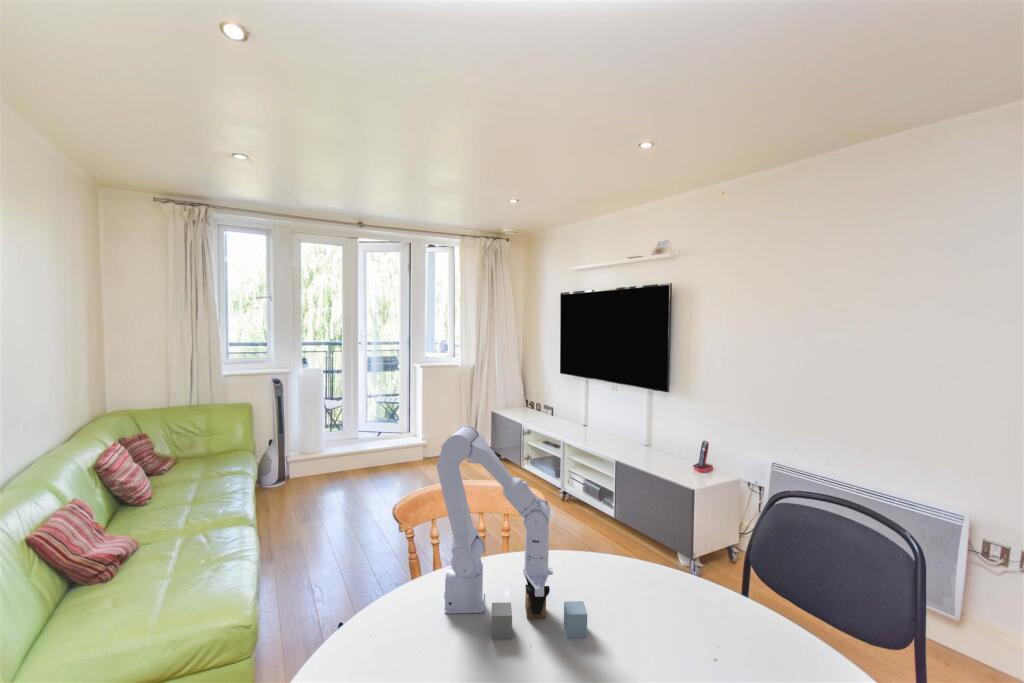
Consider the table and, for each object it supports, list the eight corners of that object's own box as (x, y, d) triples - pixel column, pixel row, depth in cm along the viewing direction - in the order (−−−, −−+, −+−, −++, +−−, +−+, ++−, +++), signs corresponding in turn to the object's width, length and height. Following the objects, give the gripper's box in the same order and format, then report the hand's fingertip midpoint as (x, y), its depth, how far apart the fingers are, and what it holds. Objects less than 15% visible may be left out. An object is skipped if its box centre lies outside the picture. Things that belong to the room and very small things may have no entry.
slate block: (567, 637, 102) (567, 614, 101) (563, 623, 106) (564, 601, 106) (586, 637, 102) (587, 614, 101) (582, 623, 106) (583, 601, 106)
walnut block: (526, 618, 108) (527, 596, 107) (525, 606, 112) (525, 584, 112) (545, 618, 108) (546, 596, 107) (543, 605, 112) (543, 584, 112)
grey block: (491, 639, 101) (491, 616, 100) (491, 625, 105) (491, 602, 105) (511, 639, 101) (512, 615, 100) (510, 624, 105) (511, 602, 105)
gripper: (557, 569, 102) (556, 626, 103) (548, 537, 116) (547, 587, 117) (526, 570, 101) (525, 627, 102) (521, 537, 116) (520, 588, 117)
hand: (535, 606), depth 110 cm, fingers closed on walnut block, 4 cm apart
